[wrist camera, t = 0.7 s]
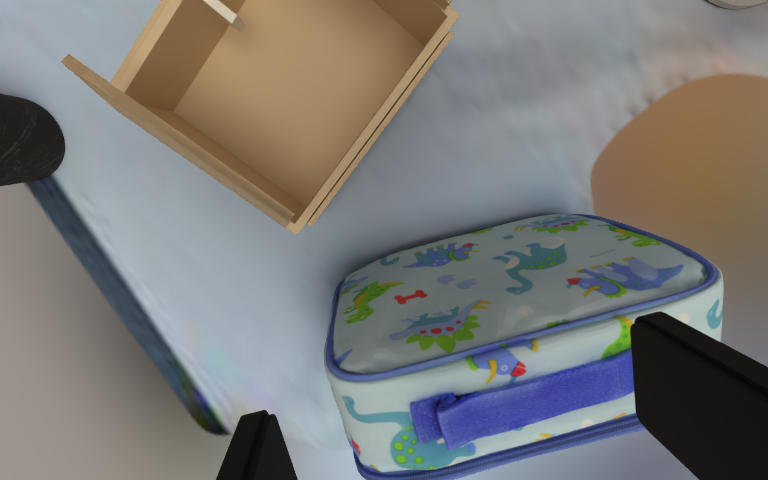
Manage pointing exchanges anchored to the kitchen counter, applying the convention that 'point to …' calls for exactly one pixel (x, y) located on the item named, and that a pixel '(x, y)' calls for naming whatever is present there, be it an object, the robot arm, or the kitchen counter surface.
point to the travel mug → (27, 141)
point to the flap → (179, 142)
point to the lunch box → (503, 342)
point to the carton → (284, 83)
